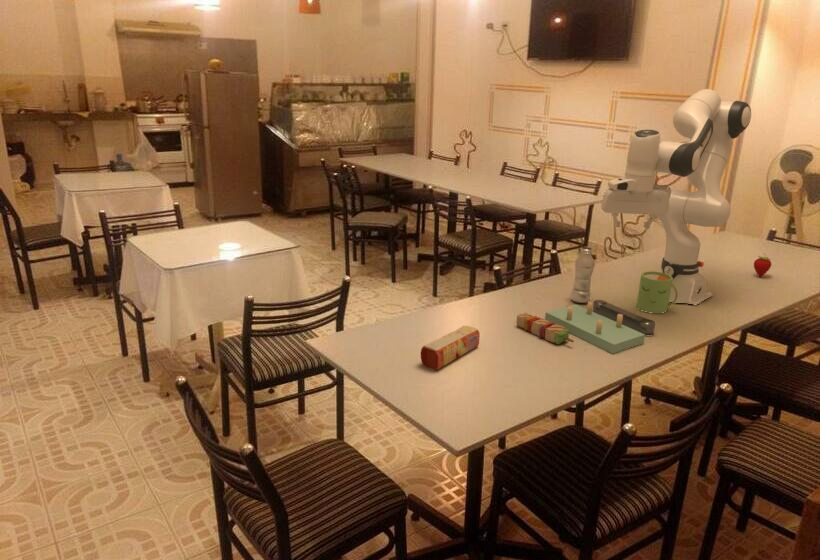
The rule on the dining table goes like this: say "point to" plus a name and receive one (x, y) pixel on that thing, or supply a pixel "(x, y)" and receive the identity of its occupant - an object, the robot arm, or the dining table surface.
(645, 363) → the dining table surface
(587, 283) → the plastic bottle
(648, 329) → the long charcoal rail
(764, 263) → the strawberry
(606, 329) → the peg rack
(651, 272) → the mug
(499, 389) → the dining table surface
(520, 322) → the skewer
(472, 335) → the snack package
